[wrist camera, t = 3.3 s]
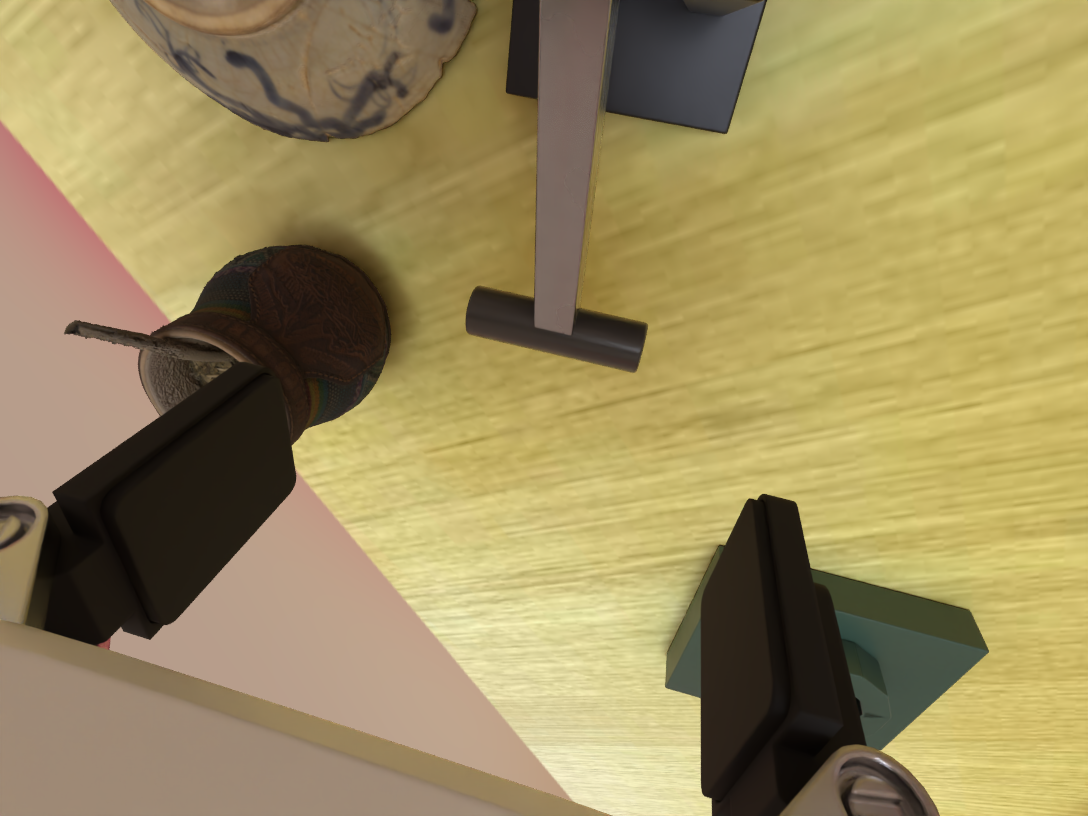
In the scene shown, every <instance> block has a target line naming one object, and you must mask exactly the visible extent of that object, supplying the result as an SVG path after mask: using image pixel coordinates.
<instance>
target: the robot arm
mask: <svg viewBox="0 0 1088 816" xmlns="http://www.w3.org/2000/svg"><path fill="white" fill-rule="evenodd" d="M295 483H296V471H295V465H294V459H293V452H292V446H291V440H290V434H289V427H288V421H287V415H286V409H285V403H284V396H283V390H282V384H281V381H280V380H279V378H277V377H276V376H275V373H274V372H273V370H272V369H270V368H267V367H263V366H259V365H255V364H251V363H248V362H238V363H236V364H234V365H233V366H232V367H230V368H229V369H227V370H226V371H224V372H223V373H222V374H220V375H219V376H217V377H216V378H214V379H213V380H212V381H210V382H209V383H207V384H206V385H204V386H203V387H202V388H200V389H199V390H197V391H196V392H194V393H193V394H192V395H190V396H189V397H187V398H186V399H184V400H183V401H182V402H180V403H179V404H177V405H176V406H174V407H173V408H172V409H170V410H169V411H167V412H166V413H164V414H163V415H162V416H160V417H159V418H157V419H156V420H155V421H153V422H152V423H150V424H149V425H147V426H146V427H145V428H143V429H142V430H140V431H139V432H137V433H136V434H135V435H133V436H132V437H130V438H129V439H127V440H126V441H124V442H123V443H122V444H120V445H119V446H118V447H116V448H115V449H113V450H112V451H110V452H109V453H107V454H106V455H105V456H103V457H102V458H100V459H99V460H97V461H96V462H94V463H93V464H92V465H90V466H89V467H87V468H86V469H85V470H83V471H82V472H80V473H79V474H77V475H76V476H74V477H73V478H72V479H70V480H69V481H67V482H66V483H64V484H63V485H62V486H60V487H59V488H57V489H56V490H54V491H53V494H54V496H55V498H56V500H57V501H56V502H55V503H53V504H52V505H51V506H49V507H48V508H47V507H46V506H45V505H44V504H43V503H42V502H41V501H39V500H37V499H34V498H32V497H25V496H8V497H0V816H612V815H609V814H606V813H603V812H600V811H597V810H595V809H592V808H589V807H586V806H583V805H580V804H578V803H575V802H572V801H569V800H566V799H563V798H561V797H557V796H554V795H551V794H549V793H546V792H542V791H539V790H537V789H534V788H531V787H528V786H525V785H521V784H518V783H515V782H512V781H509V780H506V779H503V778H500V777H497V776H494V775H491V774H488V773H485V772H482V771H479V770H476V769H473V768H470V767H467V766H464V765H461V764H458V763H455V762H452V761H449V760H446V759H443V758H440V757H437V756H434V755H431V754H428V753H425V752H422V751H419V750H416V749H413V748H410V747H407V746H404V745H401V744H398V743H395V742H392V741H388V740H386V739H382V738H379V737H376V736H373V735H370V734H367V733H364V732H361V731H358V730H355V729H352V728H349V727H346V726H343V725H340V724H337V723H333V722H330V721H328V720H324V719H321V718H318V717H315V716H312V715H309V714H306V713H303V712H300V711H297V710H294V709H291V708H287V707H285V706H282V705H278V704H275V703H272V702H269V701H266V700H263V699H260V698H257V697H254V696H250V695H248V694H244V693H242V692H239V691H235V690H232V689H229V688H226V687H223V686H220V685H217V684H213V683H210V682H207V681H204V680H201V679H198V678H194V677H191V676H188V675H185V674H182V673H179V672H176V671H173V670H170V669H167V668H164V667H160V666H157V665H154V664H151V663H148V662H145V661H142V660H139V659H136V658H132V657H129V656H126V655H123V654H120V653H117V652H114V651H111V650H109V648H110V638H111V636H112V635H113V634H114V633H115V632H116V631H117V630H118V629H119V628H120V627H122V629H123V631H124V632H127V633H130V634H133V635H137V636H140V637H143V638H146V639H149V640H150V639H151V638H152V637H153V636H154V635H155V634H156V633H157V632H158V631H159V630H160V628H162V626H163V625H168V624H171V623H172V622H174V621H175V620H176V619H177V618H178V617H179V616H180V615H181V614H182V613H183V612H184V611H185V610H186V608H187V607H188V606H189V605H190V604H191V603H192V602H193V601H194V600H195V598H196V597H197V596H198V595H199V594H200V593H201V592H202V591H203V590H204V588H205V587H206V586H207V585H208V584H209V583H210V582H211V581H212V580H213V578H214V577H215V576H216V575H217V574H218V573H219V572H220V571H221V570H222V568H223V567H224V566H225V565H226V564H227V563H228V562H229V561H230V560H231V558H232V557H233V556H234V555H235V554H236V553H237V552H238V551H239V550H240V548H241V547H242V546H243V545H244V544H245V543H246V542H247V541H248V540H249V539H250V537H251V536H252V535H253V534H254V533H255V532H256V531H257V529H259V527H260V526H261V525H262V524H263V523H264V522H265V521H266V520H267V518H268V517H269V516H270V515H271V514H272V513H273V512H274V511H275V510H276V509H277V507H278V506H279V505H280V504H281V503H282V502H283V501H284V500H285V499H286V497H287V496H288V495H289V494H290V493H291V491H292V490H293V488H294V486H295ZM701 789H702V793H703V795H704V796H706V797H709V798H712V816H940V815H939V812H938V810H937V807H936V806H935V804H934V802H933V801H932V799H931V798H930V796H929V794H928V793H927V791H926V790H925V788H924V787H923V786H922V785H921V783H920V782H919V781H918V780H917V779H916V778H915V777H914V776H913V775H912V773H911V772H910V771H909V770H908V769H906V768H905V767H904V766H903V765H901V764H900V763H899V762H897V761H896V760H895V759H894V758H892V757H891V756H889V755H887V754H885V753H883V752H881V751H879V750H877V749H875V748H872V747H868V746H867V744H866V740H865V736H864V731H863V727H862V723H861V719H860V715H859V710H858V706H857V702H856V698H855V694H854V689H853V685H852V681H851V677H850V672H849V668H848V664H847V660H846V656H845V651H844V647H843V643H842V639H841V635H840V630H839V626H838V622H837V618H836V614H835V609H834V605H833V601H832V597H831V595H830V592H829V590H828V588H827V587H826V586H825V585H822V584H819V583H815V582H813V578H812V573H811V568H810V563H809V559H808V554H807V549H806V544H805V540H804V535H803V530H802V525H801V521H800V516H799V511H798V507H797V504H796V503H795V502H794V501H790V500H786V499H783V498H779V497H775V496H771V495H767V494H762V495H760V496H759V498H758V500H754V499H748V500H747V502H746V503H745V505H744V508H743V510H742V512H741V514H740V516H739V518H738V520H737V522H736V524H735V526H734V528H733V530H732V533H731V535H730V537H729V539H728V541H727V543H726V545H725V547H724V549H723V551H722V553H721V555H720V557H719V560H718V562H717V564H716V566H715V568H714V570H713V572H712V574H711V576H710V578H709V580H708V582H707V584H706V587H705V589H704V591H703V595H702V600H701Z"/></svg>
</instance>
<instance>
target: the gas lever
mask: <svg viewBox="0 0 1088 816" xmlns="http://www.w3.org/2000/svg"><path fill="white" fill-rule="evenodd" d="M619 3H620V0H540V9H539V64H538V119H537V174H536V230H535V285H534V298H533V297H528V296H524V295H519V294H515V293H511V292H506V291H502V290H497V289H493V288H488V287H484V286H477V287H476V288H475V289H474V290H473V292H472V294H471V297H470V300H469V303H468V307H467V312H466V331H467V333H468V334H470V335H473V336H478V337H482V338H486V339H491V340H495V341H499V342H503V343H508V344H512V345H516V346H521V347H525V348H529V349H533V350H538V351H542V352H546V353H551V354H555V355H559V356H563V357H568V358H572V359H576V360H580V361H585V362H589V363H593V364H598V365H602V366H606V367H610V368H615V369H619V370H623V371H628V372H632V373H635V372H636V371H637V369H638V366H639V363H640V359H641V355H642V351H643V347H644V343H645V339H646V335H647V330H648V324H647V323H645V322H640V321H636V320H631V319H627V318H622V317H618V316H613V315H609V314H604V313H600V312H595V311H591V310H587V309H582V308H580V306H581V298H582V290H583V282H584V275H585V267H586V259H587V251H588V244H589V236H590V228H591V220H592V213H593V205H594V197H595V189H596V182H597V174H598V166H599V158H600V151H601V143H602V135H603V127H604V120H605V112H606V104H607V96H608V89H609V81H610V73H611V65H612V58H613V50H614V42H615V34H616V27H617V19H618V11H619Z"/></svg>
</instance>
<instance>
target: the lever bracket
mask: <svg viewBox="0 0 1088 816" xmlns="http://www.w3.org/2000/svg"><path fill="white" fill-rule="evenodd" d="M766 2H767V0H620V3H619V11H618V19H617V27H616V34H615V42H614V50H613V58H612V65H611V73H610V81H609V89H608V96H607V104H606V112H609V113H614V114H620V115H625V116H631V117H636V118H641V119H647V120H652V121H657V122H663V123H668V124H674V125H679V126H684V127H690V128H695V129H701V130H706V131H711V132H717V133H722V134H727V132H728V129H729V126H730V123H731V119H732V116H733V113H734V109H735V106H736V103H737V99H738V96H739V93H740V89H741V86H742V83H743V79H744V76H745V73H746V69H747V66H748V63H749V59H750V56H751V53H752V49H753V46H754V42H755V39H756V36H757V32H758V29H759V26H760V22H761V19H762V16H763V12H764V9H765V6H766ZM539 9H540V0H513V8H512V21H511V33H510V45H509V57H508V69H507V81H506V93H507V94H512V95H517V96H523V97H528V98H533V99H538V64H539Z"/></svg>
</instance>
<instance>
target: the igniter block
mask: <svg viewBox="0 0 1088 816" xmlns="http://www.w3.org/2000/svg"><path fill="white" fill-rule="evenodd" d="M723 549H724V546H719V547H718V549H717V551H716V553H715V555H714V557H713V559H712V561H711V563H710V566H709V568H708V570H707V572H706V574H705V576H704V578H703V580H702V582H701V584H700V586H699V588H698V590H697V592H696V595H695V597H694V599H693V601H692V603H691V605H690V607H689V609H688V611H687V613H686V615H685V617H684V619H683V621H682V624H681V626H680V628H679V630H678V632H677V634H676V636H675V638H674V640H673V642H672V644H671V646H670V648H669V650H668V653H667V661H666V682H665V687H666V688H668V689H671V690H675V691H678V692H682V693H685V694H688V695H692V696H695V697H699V698H701V600H702V595H703V591H704V589H705V587H706V584H707V582H708V580H709V578H710V576H711V574H712V572H713V570H714V568H715V566H716V564H717V562H718V560H719V557H720V555H721V553H722V551H723ZM811 573H812V578H813V582H815V583H819V584H822V585H825V586H826V587H827V588H828V590H829V592H830V595H831V597H832V601H833V605H834V609H835V614H836V618H837V622H838V626H839V630H840V635H841V639H842V643H843V647H844V651H845V656H846V660H847V664H848V668H849V672H850V677H851V681H852V685H853V689H854V694H855V698H856V702H857V706H858V710H859V715H860V719H861V723H862V727H863V731H864V736H865V740H866V744H867V746H868V747H872V748H875V749H877V750H882V749H883V748H884V747H885V746H886V745H887V744H888V743H889V742H891V741H892V740H893V739H894V738H895V737H896V736H897V735H898V734H899V733H900V732H902V731H903V730H904V729H905V728H906V727H907V726H908V725H909V724H910V723H912V722H913V721H914V720H915V719H916V718H917V717H918V716H919V715H920V714H921V713H923V712H924V711H925V710H926V709H927V708H928V707H929V706H930V705H931V704H932V703H934V702H935V701H936V700H937V699H938V698H939V697H940V696H941V695H942V694H943V693H945V692H946V691H947V690H948V689H949V688H950V687H951V686H952V685H953V684H954V683H956V682H957V681H958V680H959V679H960V678H961V677H962V676H963V675H964V674H965V673H967V672H968V671H969V670H970V669H971V668H972V667H973V666H974V665H975V664H977V663H978V662H979V661H980V660H981V659H982V658H983V657H984V656H985V655H986V654H988V653H989V650H988V648H987V646H986V643H985V641H984V639H983V637H982V635H981V633H980V631H979V628H978V626H977V624H976V622H975V620H974V618H973V616H972V613H971V612H970V611H969V610H965V609H961V608H957V607H953V606H950V605H946V604H942V603H938V602H934V601H930V600H927V599H923V598H919V597H915V596H911V595H908V594H904V593H900V592H896V591H892V590H888V589H885V588H881V587H877V586H873V585H869V584H866V583H862V582H858V581H854V580H850V579H846V578H843V577H839V576H835V575H831V574H827V573H824V572H820V571H816V570H812V569H811Z"/></svg>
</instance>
